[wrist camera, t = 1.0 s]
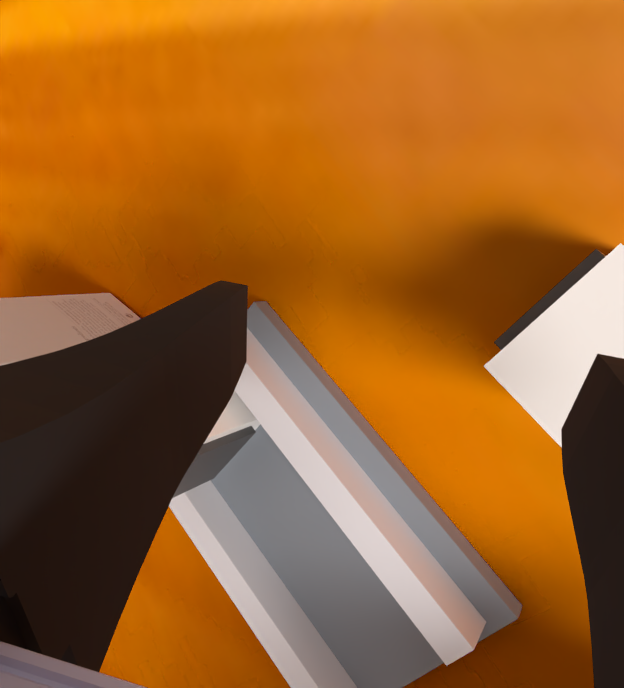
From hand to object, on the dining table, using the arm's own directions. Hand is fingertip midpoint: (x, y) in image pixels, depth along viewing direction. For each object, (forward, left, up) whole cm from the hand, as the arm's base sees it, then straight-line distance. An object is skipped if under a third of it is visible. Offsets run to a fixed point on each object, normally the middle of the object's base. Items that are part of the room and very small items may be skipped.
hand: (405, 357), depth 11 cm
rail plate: (0, +14, -12) cm, 19 cm away
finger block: (-3, -2, -12) cm, 13 cm away
